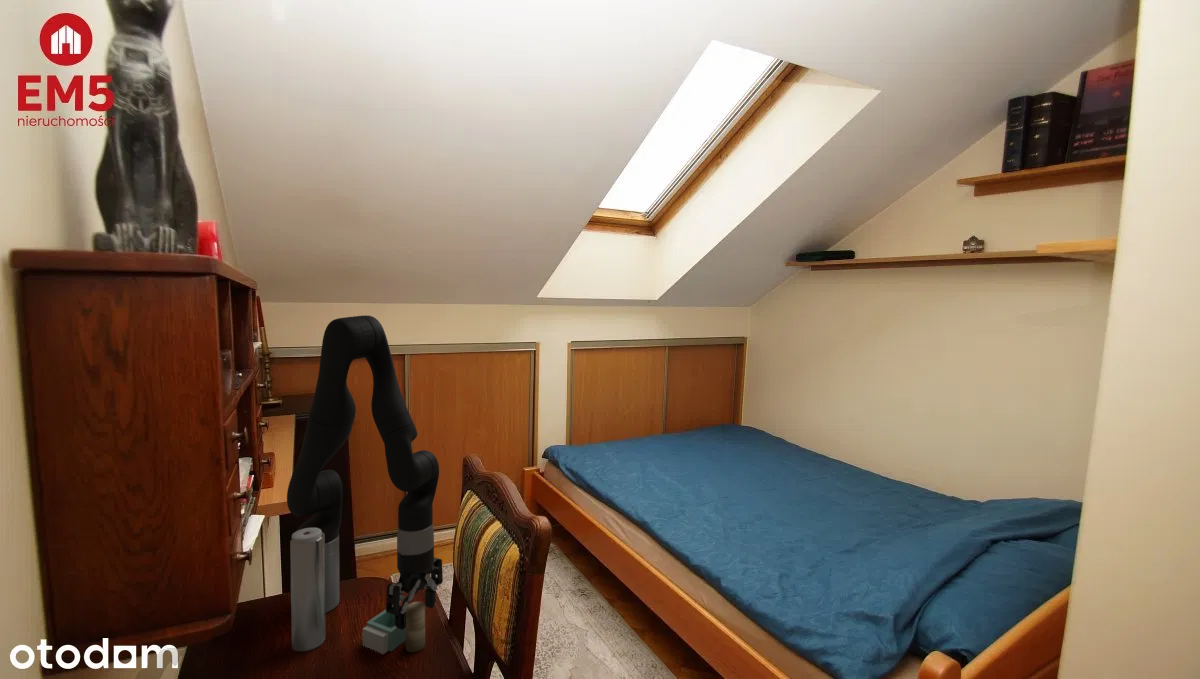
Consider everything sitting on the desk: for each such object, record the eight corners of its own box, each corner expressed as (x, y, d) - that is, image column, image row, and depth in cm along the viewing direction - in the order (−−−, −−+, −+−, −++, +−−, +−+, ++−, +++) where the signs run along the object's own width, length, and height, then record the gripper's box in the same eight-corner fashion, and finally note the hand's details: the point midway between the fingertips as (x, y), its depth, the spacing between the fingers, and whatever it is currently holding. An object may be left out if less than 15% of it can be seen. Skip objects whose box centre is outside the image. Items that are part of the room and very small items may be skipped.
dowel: (401, 649, 113) (401, 609, 112) (414, 637, 116) (414, 599, 116) (416, 654, 111) (416, 614, 110) (429, 642, 115) (428, 604, 114)
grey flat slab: (362, 646, 113) (362, 628, 113) (367, 642, 114) (367, 625, 114) (383, 654, 111) (383, 636, 110) (388, 650, 112) (388, 633, 112)
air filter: (310, 654, 110) (309, 541, 108) (284, 649, 111) (282, 537, 109) (332, 635, 116) (331, 527, 114) (307, 630, 118) (306, 524, 116)
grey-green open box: (366, 641, 115) (366, 622, 114) (391, 623, 121) (391, 605, 121) (390, 651, 112) (391, 632, 111) (415, 632, 118) (415, 613, 118)
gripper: (426, 528, 120) (426, 596, 121) (376, 555, 107) (377, 630, 108) (451, 535, 117) (451, 604, 118) (403, 563, 104) (404, 641, 105)
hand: (415, 617), depth 113 cm, fingers open, 8 cm apart
